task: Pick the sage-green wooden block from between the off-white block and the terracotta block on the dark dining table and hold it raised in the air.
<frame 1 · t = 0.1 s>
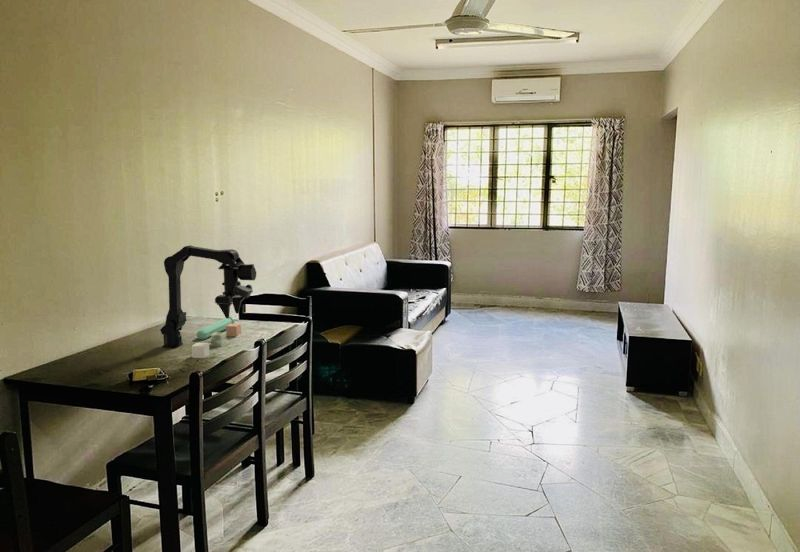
hand: (232, 315, 252), 14 cm above the table, tool pointing down, fingers open, 9 cm apart
off white block: (200, 356, 244), on the table
sage block: (218, 344, 261), on the table
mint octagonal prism: (215, 334, 280), on the table
terracotta block: (233, 335, 276), on the table
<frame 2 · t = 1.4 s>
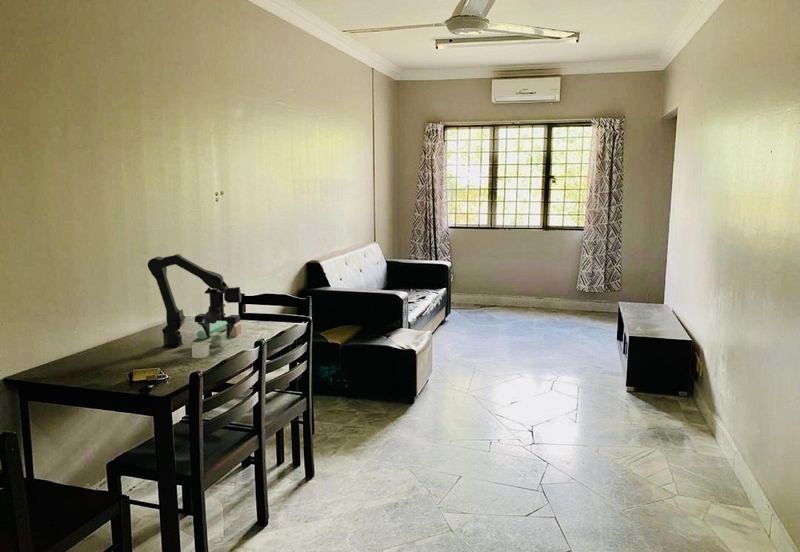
hand: (218, 337, 260), 3 cm above the table, tool pointing down, fingers open, 9 cm apart
nothing on the table moved.
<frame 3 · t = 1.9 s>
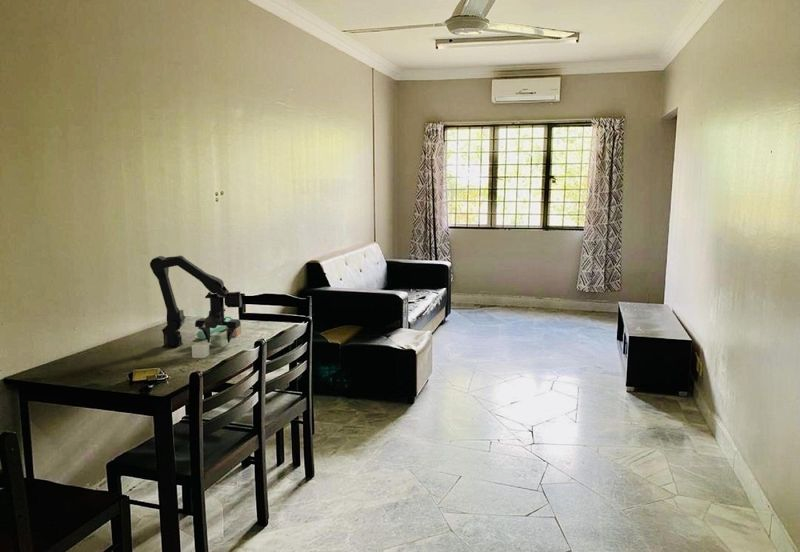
hand: (218, 342, 261), 1 cm above the table, tool pointing down, fingers open, 9 cm apart
nothing on the table moved.
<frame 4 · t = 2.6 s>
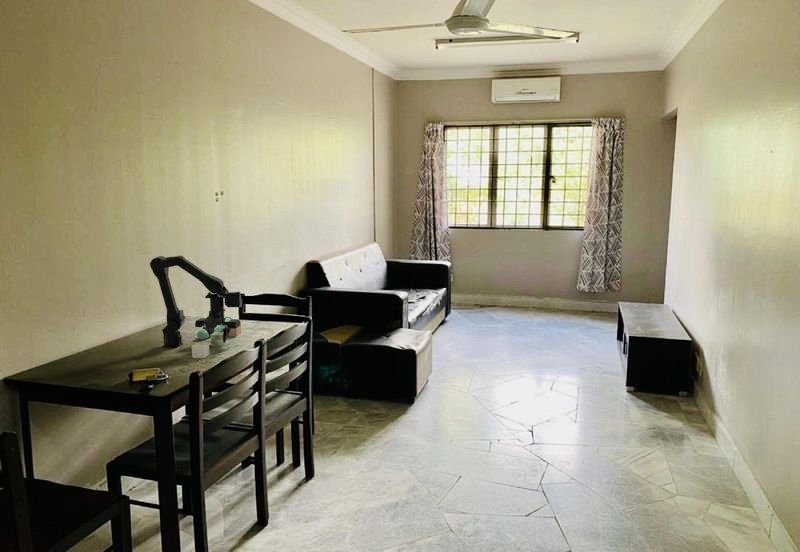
hand: (218, 342, 261), 1 cm above the table, tool pointing down, fingers closed on sage block, 5 cm apart
sage block: (218, 344, 261), on the table, touching gripper
everything else where it was.
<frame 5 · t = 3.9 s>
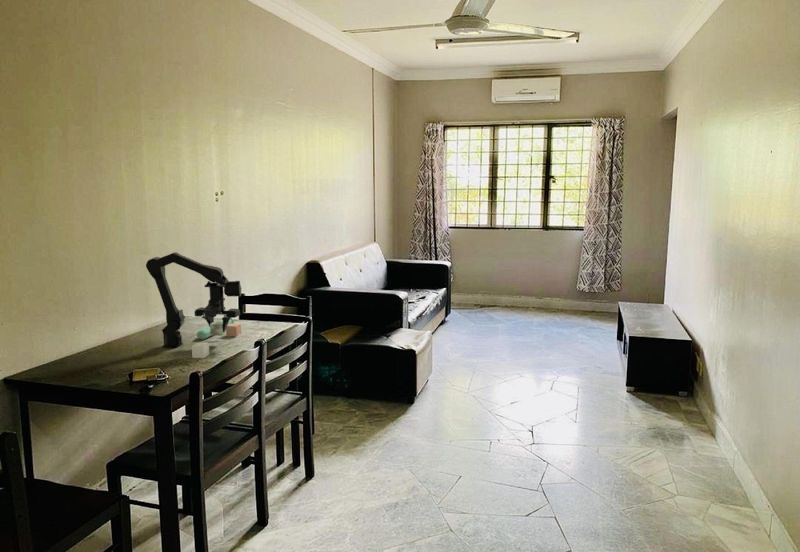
hand: (218, 331, 260), 6 cm above the table, tool pointing down, fingers closed on sage block, 5 cm apart
sage block: (218, 333, 260), point 5 cm above the table, touching gripper
everything else where it was.
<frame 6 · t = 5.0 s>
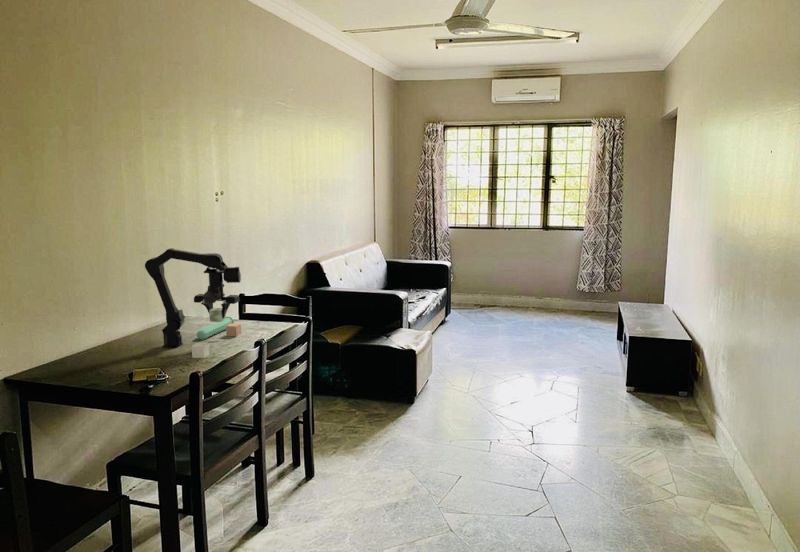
hand: (217, 318, 259), 12 cm above the table, tool pointing down, fingers closed on sage block, 5 cm apart
sage block: (217, 320, 259), point 11 cm above the table, touching gripper
everything else where it was.
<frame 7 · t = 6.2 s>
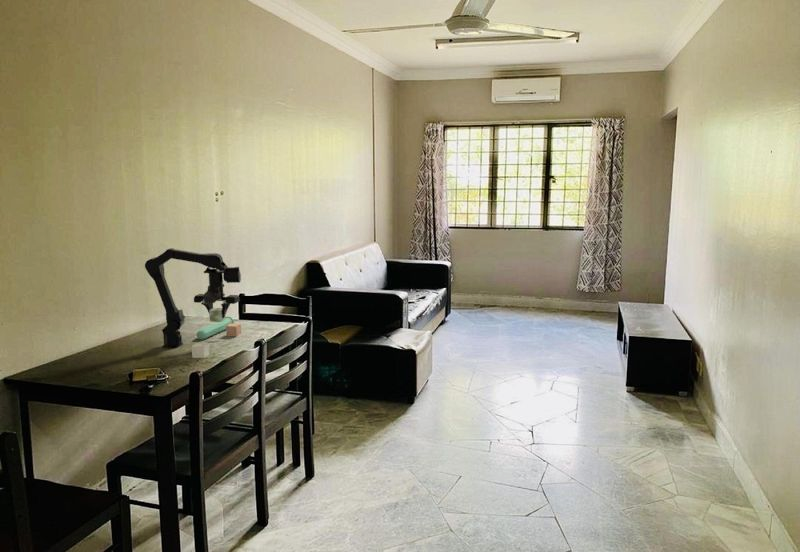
hand: (217, 318, 259), 12 cm above the table, tool pointing down, fingers closed on sage block, 5 cm apart
sage block: (217, 320, 259), point 11 cm above the table, touching gripper
everything else where it was.
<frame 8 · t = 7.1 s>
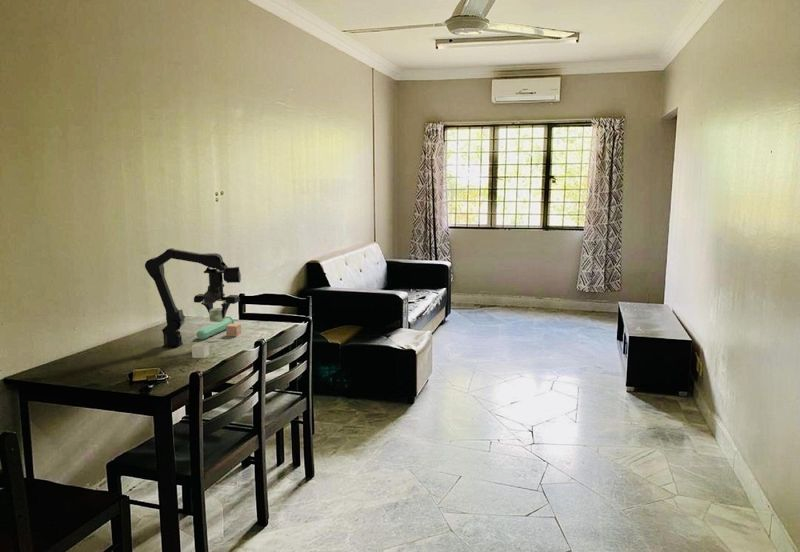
hand: (217, 318, 259), 12 cm above the table, tool pointing down, fingers closed on sage block, 5 cm apart
sage block: (217, 320, 259), point 11 cm above the table, touching gripper
everything else where it was.
at the end: sage block point 10.9 cm above the table; off white block moved 0.1 cm from its start; terracotta block moved 0.1 cm from its start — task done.
